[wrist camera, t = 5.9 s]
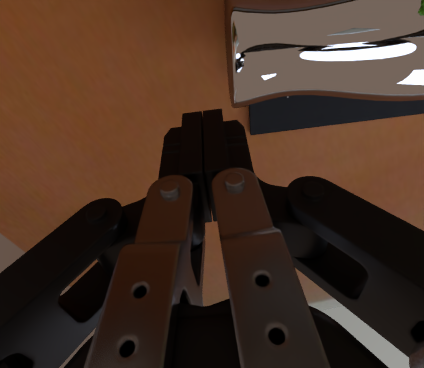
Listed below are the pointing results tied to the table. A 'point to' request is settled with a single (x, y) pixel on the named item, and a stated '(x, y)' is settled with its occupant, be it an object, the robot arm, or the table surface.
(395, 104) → the mat
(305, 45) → the beer glass
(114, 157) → the table surface
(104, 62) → the table surface
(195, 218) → the robot arm
